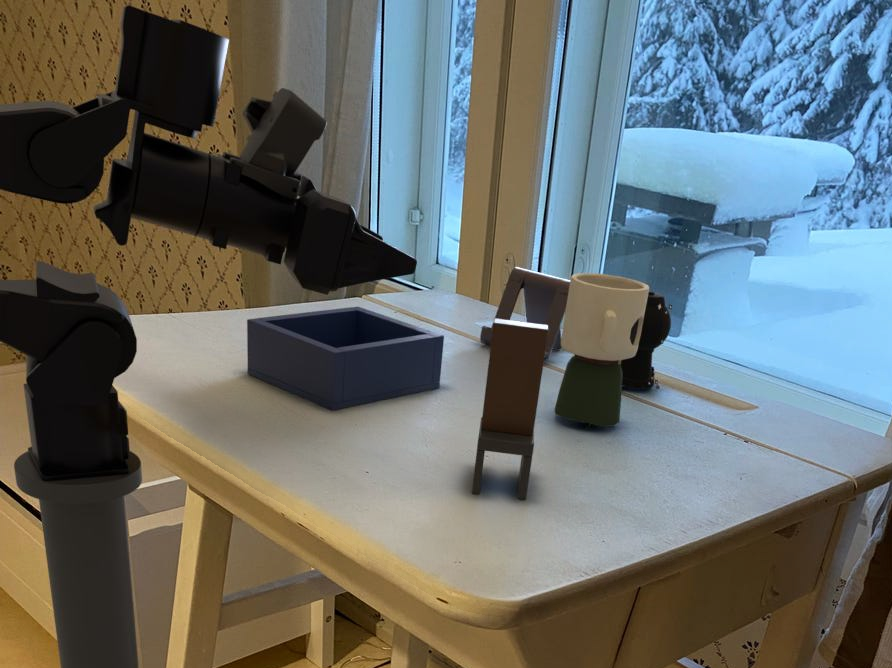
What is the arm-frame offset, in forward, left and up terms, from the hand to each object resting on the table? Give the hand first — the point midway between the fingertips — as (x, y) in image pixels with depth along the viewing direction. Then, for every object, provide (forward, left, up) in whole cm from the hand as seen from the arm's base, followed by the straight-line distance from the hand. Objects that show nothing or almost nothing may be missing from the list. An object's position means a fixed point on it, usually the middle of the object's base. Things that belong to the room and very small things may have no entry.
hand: (397, 254), depth 77 cm
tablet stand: (+29, +21, -15) cm, 39 cm away
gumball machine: (+33, +6, -15) cm, 37 cm away
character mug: (+20, -3, -15) cm, 25 cm away
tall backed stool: (+3, -14, -14) cm, 21 cm away
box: (+2, +13, -14) cm, 20 cm away
